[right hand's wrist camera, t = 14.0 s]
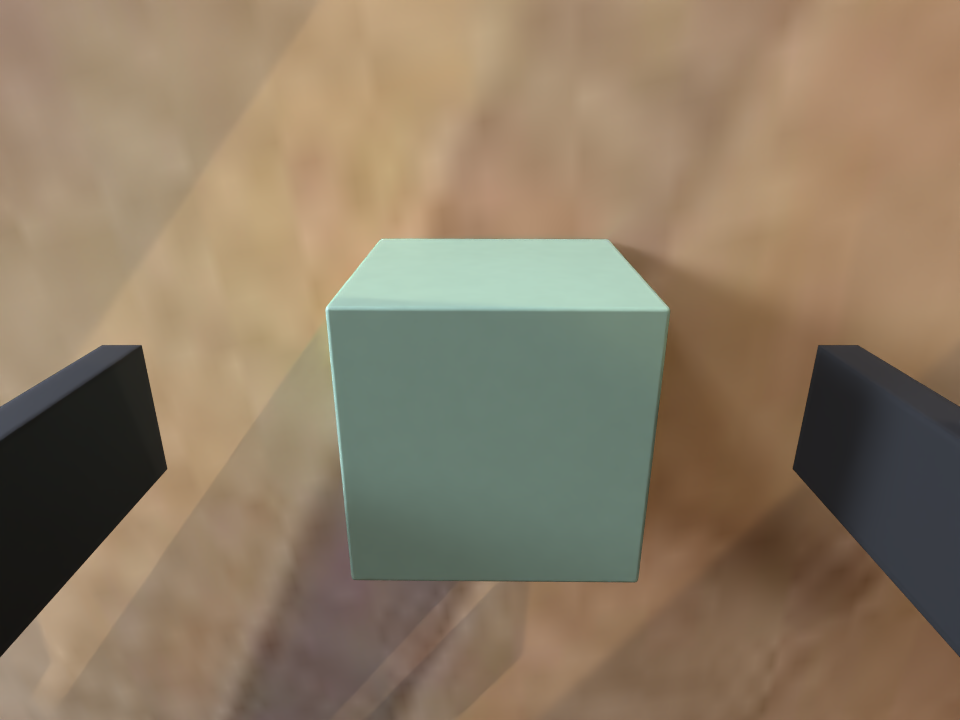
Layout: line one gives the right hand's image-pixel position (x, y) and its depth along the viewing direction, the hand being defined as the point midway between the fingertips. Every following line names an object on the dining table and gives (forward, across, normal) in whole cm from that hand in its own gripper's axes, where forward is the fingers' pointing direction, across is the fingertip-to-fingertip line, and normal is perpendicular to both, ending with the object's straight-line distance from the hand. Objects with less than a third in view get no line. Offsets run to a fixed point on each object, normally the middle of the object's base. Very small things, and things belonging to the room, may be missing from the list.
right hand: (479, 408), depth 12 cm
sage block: (+2, 0, 0) cm, 3 cm away
